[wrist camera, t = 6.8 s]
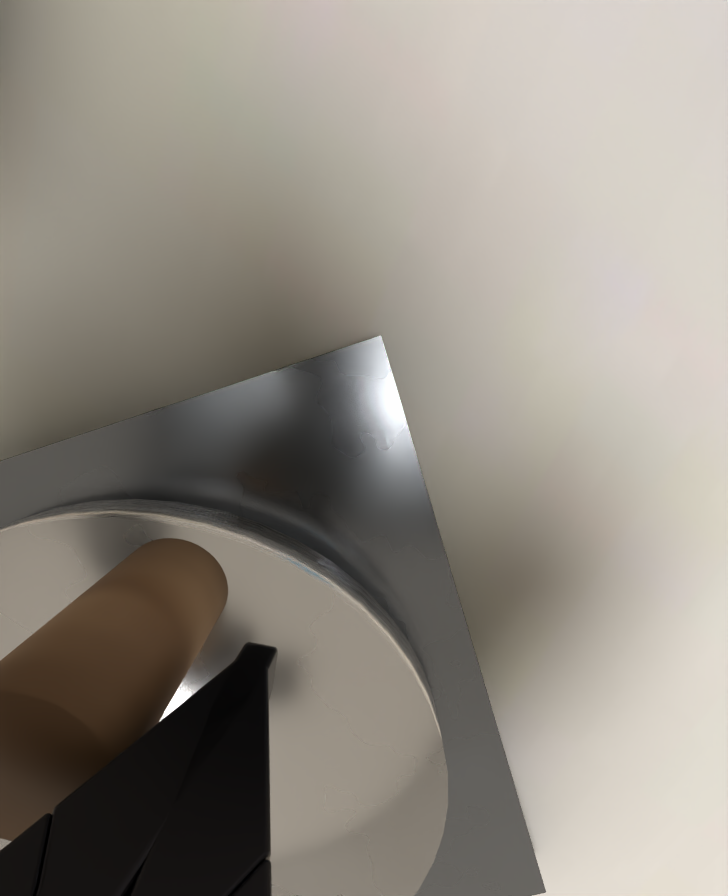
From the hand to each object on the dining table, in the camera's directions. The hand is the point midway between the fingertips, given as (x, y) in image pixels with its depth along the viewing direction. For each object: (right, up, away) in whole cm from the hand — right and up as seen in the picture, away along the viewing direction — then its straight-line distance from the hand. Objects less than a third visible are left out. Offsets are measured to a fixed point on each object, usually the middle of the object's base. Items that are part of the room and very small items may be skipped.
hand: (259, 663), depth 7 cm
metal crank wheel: (-4, -6, +4) cm, 8 cm away
